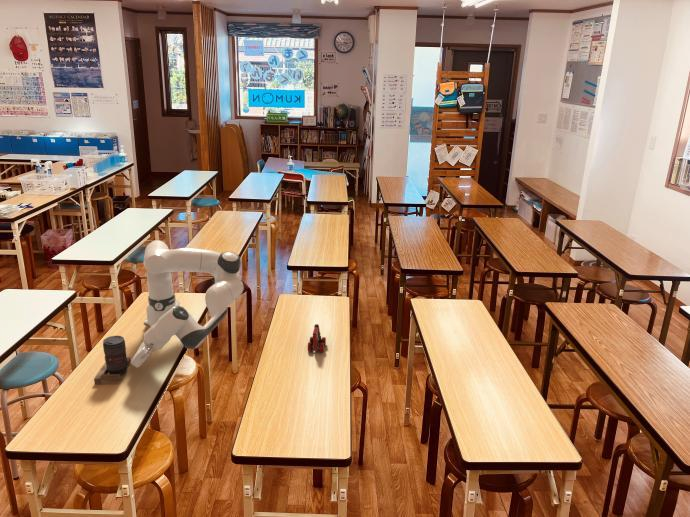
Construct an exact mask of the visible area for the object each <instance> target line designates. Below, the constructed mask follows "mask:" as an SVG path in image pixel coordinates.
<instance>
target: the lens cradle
mask: <svg viewBox="0 0 690 517" xmlns="http://www.w3.org/2000/svg"><path fill="white" fill-rule="evenodd" d="M126 357H127V356H126ZM131 360H132V358H131V357H130V356H129V357H127V362H128V367H130V365H131V364H130V363H131ZM121 380H122V376H120V374H109V372H108V370H107V367H106V361H105V362H104V363H103V365H102V366H101V368H100V370H99V371H98V372H97V373H96V375H95V376H94V379H93V381H94V385H116V384H117V385H119V384H120V383H121Z"/></svg>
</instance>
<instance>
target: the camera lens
mask: <svg viewBox="0 0 690 517" xmlns="http://www.w3.org/2000/svg"><path fill="white" fill-rule="evenodd" d="M102 343H103V344H102V347H103V353H104V361H105V362H106V367H107V370H108V372H109V373H108V374H120V376H121V377H123V376H124V375H127V372H128V368H129V366H128V362H127V351H126V350H127V348H126V347H127V346H126V341H125V338H124V337H123V336H121V335H110V336H108V337H106V338H104V339H103V341H102Z"/></svg>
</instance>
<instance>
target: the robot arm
mask: <svg viewBox="0 0 690 517" xmlns="http://www.w3.org/2000/svg"><path fill="white" fill-rule="evenodd" d="M143 255H144V256H143V266H144V267H145V269H146V280H147V281H146V282H147V283H146V284H147V291H148V298H147V301H148V305H147V306H146V309H145V310H146V319H144V324H146V325H148V326H149V329H148V330H146V331H145V332H144V333H143V341H142V342H141V344H140V345H139V347H138V349H137V351H136V352H135V354H134V356H132V358H131V364H130V365H132V366H134V367H135V368H139V367H141V365H143V364H144V362H145V361H146V360H147V359H148V358H149V357H150V355H151V354H152V352H153V351H155V350H157V351H158V350H162V348H163V347H164V346H166V345H167V343H169V341H171V338H172V337H173V336H176V338H178V340H179V341H180V343H181V344H182V345H183V346H184V348H185V349H188V350H194V349H196V348H198V347H200V346H201V345H202V344H203V343H204V341H205V340H206V338H207V337H208V336H209V334H211V332H212V331H214V329H215V328H216V327H217V326H218V325H219V324H220V323H221V322H222V321H223V320H224V318H226V316H227V314H228V306H229V305H231V304H232V303H233V302H234V301H236V300H237V299H238V297H240V296H241V295H242V293H243V292H244V284H243V281H242V280H241V279H240V269H241V263H242V262H241V257H240V256H239V254H237V253H236V252H233V251H223V252H218V251H214V250H210V249H205V248H204V249H203V248H194V247H193V248H192V247H181V248H174V249H170V248H169V247H168V245H167V244H166V242H164V241H162V240H160V239H159V240H158V239H155V240H153V241H151V242H150V243H148V244H147V245H146V247H145V250H144V254H143ZM174 272H190V273H191V272H192V273H205V274H207V273H208V274H210V275H212V276H213V277H212V278H211V282H212V285H211V286H210V287H209V288H207V290H206V292H205V295H204V301H205V305H206V307H207V310H208V312H209V315H210V319H209V320H207V322H206V323H205V324H204V325H201V324H200V323H198V322H197V320H196V319H195V318H194V317H193V316H192V314H191V313H190V312H189V311H188V310H187V309H186V308H184V306H181V305H180V301H179V300H178V299H177V298H176V295H175V294H176V289H175V290H174V286H173V276H172V273H174Z"/></svg>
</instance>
